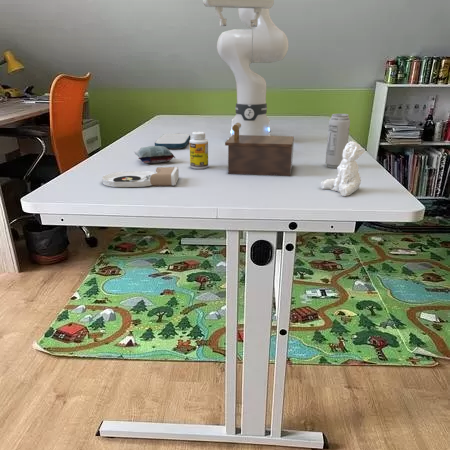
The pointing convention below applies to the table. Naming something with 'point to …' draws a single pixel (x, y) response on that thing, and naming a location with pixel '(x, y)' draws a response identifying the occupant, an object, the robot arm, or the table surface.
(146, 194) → the table surface
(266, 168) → the chest
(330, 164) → the energy drink can
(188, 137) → the external hard drive
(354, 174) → the white creature statuette
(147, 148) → the packaged food
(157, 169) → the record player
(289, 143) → the chest lid
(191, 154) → the supplement bottle
